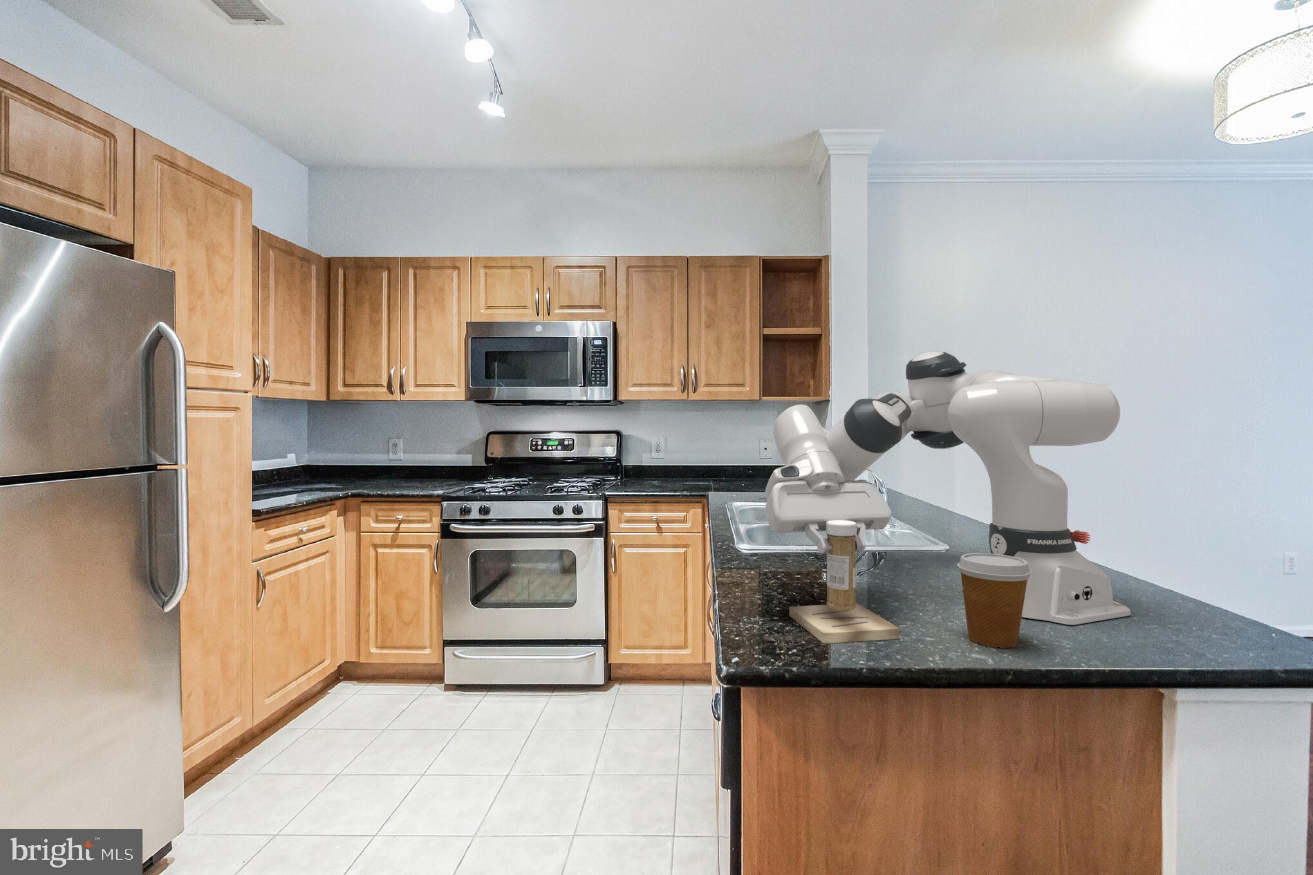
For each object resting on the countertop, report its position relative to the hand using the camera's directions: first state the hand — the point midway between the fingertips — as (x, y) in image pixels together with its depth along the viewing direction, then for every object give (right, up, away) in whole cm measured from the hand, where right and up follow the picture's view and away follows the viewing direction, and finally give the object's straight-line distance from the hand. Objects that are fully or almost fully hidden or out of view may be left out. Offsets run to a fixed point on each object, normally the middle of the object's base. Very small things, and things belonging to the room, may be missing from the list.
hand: (843, 550), depth 95 cm
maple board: (0, -12, +1) cm, 12 cm away
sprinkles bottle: (0, -9, +1) cm, 9 cm away
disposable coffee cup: (+20, -12, -5) cm, 24 cm away
